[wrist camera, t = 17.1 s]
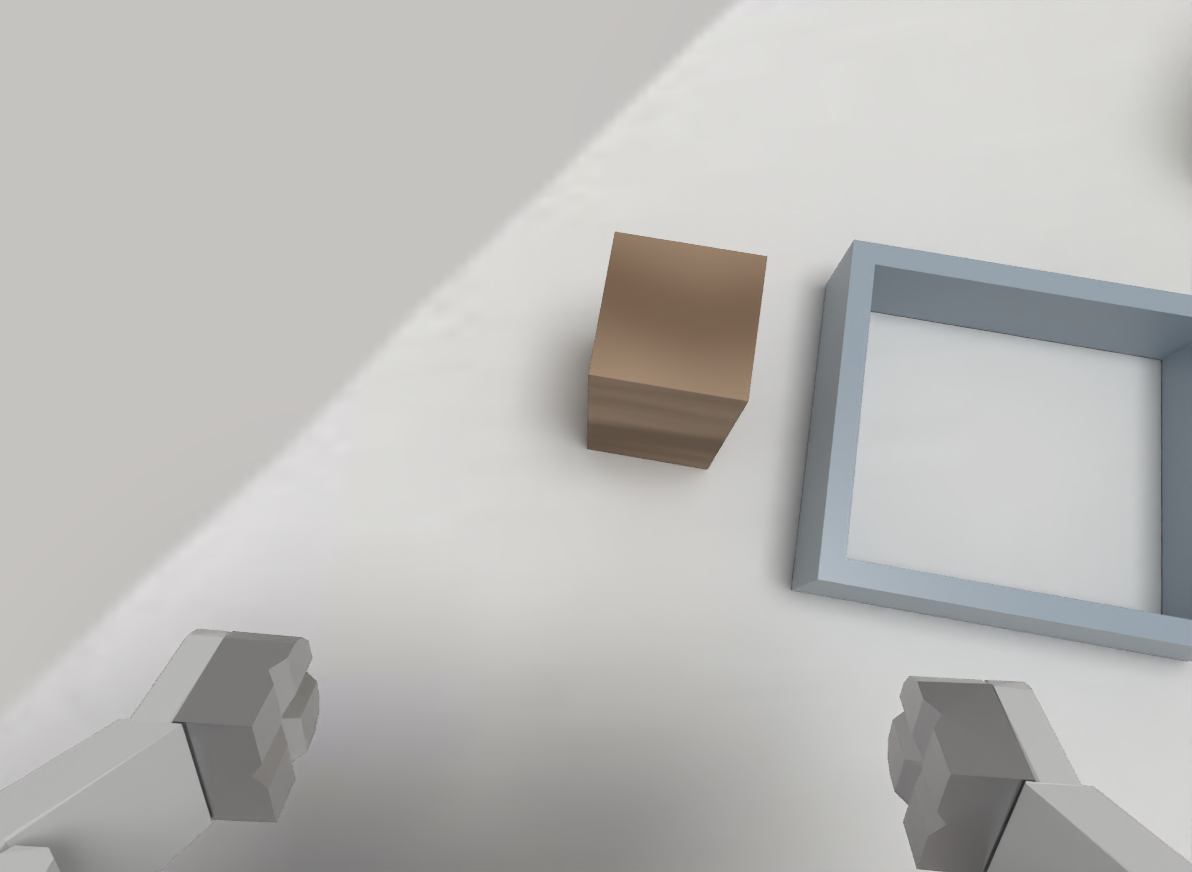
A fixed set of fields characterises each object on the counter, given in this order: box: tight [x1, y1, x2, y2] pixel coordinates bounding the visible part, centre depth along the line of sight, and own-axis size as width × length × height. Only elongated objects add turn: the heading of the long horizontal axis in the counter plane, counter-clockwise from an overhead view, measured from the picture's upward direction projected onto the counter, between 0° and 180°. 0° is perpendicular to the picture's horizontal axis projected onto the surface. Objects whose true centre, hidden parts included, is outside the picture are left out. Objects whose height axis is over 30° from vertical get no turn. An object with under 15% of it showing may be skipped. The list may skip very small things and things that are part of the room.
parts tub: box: [791, 240, 1192, 661], centre depth 29 cm, size 12×14×4 cm
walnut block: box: [587, 232, 767, 469], centre depth 28 cm, size 4×4×8 cm
